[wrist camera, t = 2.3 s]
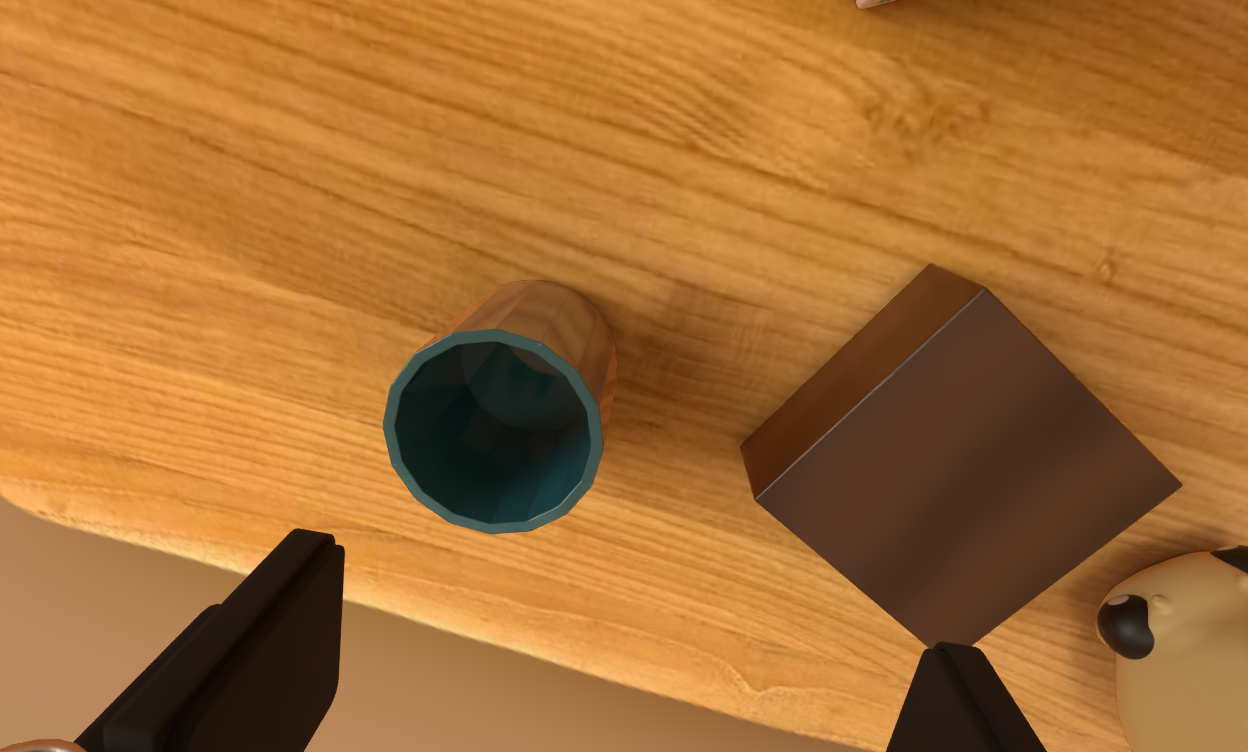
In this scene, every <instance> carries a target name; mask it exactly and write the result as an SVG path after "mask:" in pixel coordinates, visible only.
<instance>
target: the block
mask: <svg viewBox="0 0 1248 752" xmlns="http://www.w3.org/2000/svg"><path fill="white" fill-rule="evenodd" d="M740 449H741V452H742V456H743V460H744V463H745V467H746V471H747V475H748V478H749V482H750V486H751V489H752V493H753V497H754V500H755V501H756V502H757V503H758V504H759V505H761V506H762V507H763V508H764V509H765V510H767V511H768V512H769V513H770V514H771V515H772V516H774V517H775V518H776V519H777V520H778V521H780V522H781V523H782V524H783V525H784V526H785V527H787V528H788V529H789V530H790V531H791V532H793V533H794V534H795V535H796V536H797V537H798V538H800V539H801V540H802V541H803V542H804V543H806V544H807V545H808V546H809V547H810V548H811V549H813V550H814V551H815V552H816V553H817V554H819V555H820V556H821V557H822V558H823V559H824V560H826V561H827V562H828V563H829V564H830V565H831V566H833V567H834V568H835V569H836V570H837V571H839V572H840V573H841V574H842V575H843V576H844V577H846V578H847V579H848V580H849V581H850V582H852V583H853V584H854V585H855V586H856V587H857V588H859V589H860V590H861V591H862V592H863V593H865V594H866V595H867V596H868V597H869V598H870V599H872V600H873V601H874V602H875V603H876V604H878V605H879V606H880V607H881V608H882V609H883V610H885V611H886V612H887V613H888V614H889V615H891V616H892V617H893V618H894V619H895V620H896V621H898V622H899V623H900V624H901V625H902V626H904V627H905V628H906V629H907V630H908V631H909V632H911V633H912V634H913V635H914V636H915V637H916V638H918V639H919V640H920V641H921V642H922V643H924V644H925V645H926V646H927V647H928V648H929V649H933V648H934V646H935V645H936V644H937V643H938V642H941V641H944V642H950V643H955V644H961V645H967V646H972V645H973V644H975V643H976V642H977V641H979V640H980V639H981V638H983V637H984V636H985V635H987V634H988V633H989V632H990V631H992V630H993V629H994V628H996V627H997V626H998V625H1000V624H1001V623H1002V622H1004V621H1005V620H1006V619H1008V618H1009V617H1010V616H1012V615H1013V614H1014V613H1016V612H1017V611H1018V610H1020V609H1021V608H1022V607H1023V606H1025V605H1026V604H1027V603H1029V602H1030V601H1031V600H1033V599H1034V598H1035V597H1037V596H1038V595H1039V594H1041V593H1042V592H1043V591H1045V590H1046V589H1047V588H1049V587H1050V586H1051V585H1053V584H1054V583H1055V582H1056V581H1058V580H1059V579H1060V578H1062V577H1063V576H1064V575H1066V574H1067V573H1068V572H1070V571H1071V570H1072V569H1074V568H1075V567H1076V566H1078V565H1079V564H1080V563H1082V562H1083V561H1084V560H1086V559H1087V558H1088V557H1089V556H1091V555H1092V554H1093V553H1095V552H1096V551H1097V550H1099V549H1100V548H1101V547H1103V546H1104V545H1105V544H1107V543H1108V542H1109V541H1111V540H1112V539H1113V538H1115V537H1116V536H1117V535H1118V534H1120V533H1121V532H1122V531H1124V530H1125V529H1126V528H1128V527H1129V526H1130V525H1132V524H1133V523H1134V522H1136V521H1137V520H1138V519H1140V518H1141V517H1142V516H1144V515H1145V514H1146V513H1148V512H1149V511H1150V510H1151V509H1153V508H1154V507H1155V506H1157V505H1158V504H1159V503H1161V502H1162V501H1163V500H1165V499H1166V498H1167V497H1169V496H1170V495H1171V494H1173V493H1174V492H1175V491H1177V490H1178V489H1179V488H1181V487H1182V483H1181V482H1180V481H1179V480H1178V479H1177V478H1176V477H1175V476H1174V475H1173V474H1172V473H1171V472H1170V471H1169V470H1168V469H1167V468H1166V467H1165V466H1164V465H1163V464H1162V463H1161V462H1160V461H1159V460H1158V459H1157V458H1156V457H1155V456H1154V455H1153V454H1152V453H1151V452H1150V451H1149V450H1148V449H1147V448H1146V447H1145V446H1144V445H1143V444H1142V443H1141V442H1140V441H1139V440H1138V439H1137V438H1136V437H1135V436H1134V435H1133V434H1132V433H1131V432H1130V431H1129V430H1128V429H1127V428H1126V427H1125V426H1124V425H1123V424H1122V423H1121V422H1120V421H1119V420H1118V419H1117V418H1116V417H1115V416H1114V415H1113V414H1112V413H1111V412H1110V411H1109V410H1108V409H1107V408H1106V407H1105V406H1104V405H1103V404H1102V403H1101V402H1100V401H1099V400H1098V399H1097V398H1096V397H1095V396H1094V395H1093V394H1092V393H1091V392H1090V391H1089V390H1088V389H1087V388H1086V387H1085V386H1084V385H1083V384H1082V383H1081V382H1080V381H1079V380H1078V379H1077V378H1076V377H1075V376H1074V375H1073V374H1072V373H1071V372H1070V371H1069V370H1068V369H1067V368H1066V367H1065V366H1064V365H1063V364H1062V363H1061V362H1060V361H1059V360H1058V359H1057V358H1056V357H1055V356H1054V355H1053V354H1052V353H1051V352H1050V351H1049V350H1048V349H1047V348H1046V347H1045V346H1044V345H1043V344H1042V343H1041V342H1040V341H1039V340H1038V339H1037V338H1036V337H1035V336H1034V335H1033V334H1032V333H1031V332H1030V331H1029V330H1028V329H1027V328H1026V327H1025V326H1024V325H1023V324H1022V323H1021V322H1020V321H1019V320H1018V319H1017V318H1016V317H1015V316H1014V315H1013V314H1012V313H1011V312H1010V311H1009V310H1008V309H1007V308H1006V307H1005V306H1004V305H1003V304H1002V303H1001V302H1000V301H999V300H998V299H997V298H996V297H995V296H994V295H993V294H992V293H991V292H990V291H989V290H988V289H987V288H986V287H985V286H982V285H980V284H978V283H975V282H973V281H971V280H968V279H966V278H964V277H961V276H959V275H957V274H954V273H952V272H950V271H947V270H945V269H943V268H941V267H938V266H936V265H934V264H929V265H928V266H927V267H926V268H925V269H924V270H923V271H922V272H921V273H920V274H919V275H918V276H917V277H916V278H915V279H914V280H913V281H912V282H911V283H910V284H908V285H907V286H906V287H905V288H904V289H903V290H902V291H901V292H900V293H899V294H898V295H897V296H896V297H895V298H894V299H893V300H892V301H891V302H890V303H889V304H888V305H887V306H886V307H885V308H884V309H882V310H881V311H880V312H879V313H878V314H877V315H876V316H875V317H874V318H873V319H872V320H871V321H870V322H869V323H868V324H867V325H866V326H865V327H864V328H863V329H862V330H861V331H860V332H859V333H857V334H856V335H855V336H854V337H853V338H852V339H851V340H850V341H849V342H848V343H847V344H846V345H845V346H844V347H843V348H842V349H841V350H840V351H839V352H838V353H837V354H836V355H835V356H834V357H832V358H831V359H830V360H829V361H828V362H827V363H826V364H825V365H824V366H823V367H822V368H821V369H820V370H819V371H818V372H817V373H816V374H815V375H814V376H813V377H812V378H811V379H810V380H809V381H807V382H806V383H805V384H804V385H803V386H802V387H801V388H800V389H799V390H798V391H797V392H796V393H795V394H794V395H793V396H792V397H791V398H790V399H789V400H788V401H787V402H786V403H785V404H784V405H782V406H781V407H780V408H779V409H778V410H777V411H776V412H775V413H774V414H773V415H772V416H771V417H770V418H769V419H768V420H767V421H766V422H765V423H764V424H763V425H762V426H761V427H760V428H759V429H758V430H756V431H755V432H754V433H753V434H752V435H751V436H750V437H749V438H748V439H747V440H746V441H745V442H744V443H743V444H742V445H741V446H740Z"/></svg>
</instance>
